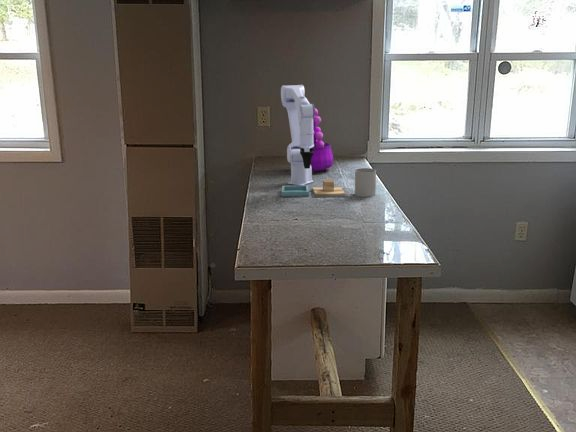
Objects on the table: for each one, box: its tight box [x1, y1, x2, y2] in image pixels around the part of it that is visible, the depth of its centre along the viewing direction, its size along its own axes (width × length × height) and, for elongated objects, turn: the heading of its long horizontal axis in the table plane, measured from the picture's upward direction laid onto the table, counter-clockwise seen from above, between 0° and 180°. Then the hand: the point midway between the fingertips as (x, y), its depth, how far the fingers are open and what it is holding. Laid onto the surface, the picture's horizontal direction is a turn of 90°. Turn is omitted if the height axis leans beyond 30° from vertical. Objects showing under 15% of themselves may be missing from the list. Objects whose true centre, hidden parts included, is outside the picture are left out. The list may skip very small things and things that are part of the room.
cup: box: [354, 167, 377, 198], centre depth 250 cm, size 8×8×10 cm
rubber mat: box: [311, 187, 348, 198], centre depth 254 cm, size 14×14×1 cm
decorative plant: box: [310, 108, 334, 172], centre depth 294 cm, size 19×19×30 cm
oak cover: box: [312, 179, 345, 196], centre depth 253 cm, size 12×12×5 cm
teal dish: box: [281, 184, 310, 198], centre depth 254 cm, size 11×11×2 cm
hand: (306, 166), depth 256 cm, fingers open, 7 cm apart
